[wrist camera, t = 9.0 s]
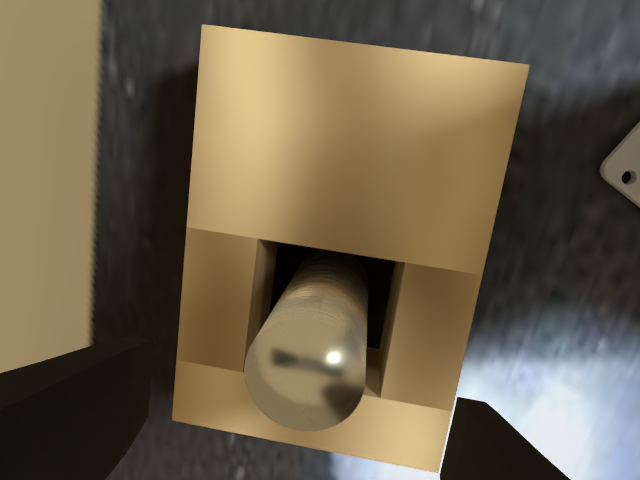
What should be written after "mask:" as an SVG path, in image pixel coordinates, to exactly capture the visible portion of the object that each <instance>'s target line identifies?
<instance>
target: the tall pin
mask: <svg viewBox="0 0 640 480" xmlns="http://www.w3.org/2000/svg"><path fill="white" fill-rule="evenodd" d="M368 292H369V282H368V277H367V274H366V271H365V269H364V267H363V266H362V264H361V263H360V262H359V261H358V260H357V259H356V258H355V257H354V256H352V255H351V254H349V253H344V252H338V251H331V250H325V249H324V250H320V251H317V252H315V253H313V254H311V255H309V256H308V257H307V258H306V259H305V260H304V261H303V262H302V263H301V265H300V266H299V268H298V269H297V271H296V273H295V274H294V276H293V277H292V279H291V281H290V282H289V284H288V286H287V287H286V289H285V291H284V292H283V294H282V295H281V297H280V299H279V300H278V302H277V304H276V305H275V307H274V309H273V310H272V312H271V314H270V315H269V317H268V318H267V320H266V322H265V323H264V325H263V327H262V328H261V330H260V332H259V333H258V335H257V336H256V338H255V340H254V341H253V343H252V345H251V346H250V348H249V351H248V353H247V356H246V359H245V365H244V377H245V383H246V387H247V390H248V392H249V395H250V397H251V399H252V400H253V402H254V403H255V405H256V406H257V407H258V409H259V410H260V411H261V412H262V413H263V414H264V415H266V416H267V417H268V418H269V419H271V420H272V421H274V422H275V423H277V424H279V425H281V426H284V427H286V428H289V429H293V430H297V431H320V430H324V429H328V428H331V427H333V426H335V425H337V424H339V423H341V422H342V421H344V420H345V419H346V418H348V417H349V416H350V415H351V414H352V413H353V412H354V410H355V409H356V408H357V406H358V404H359V403H360V401H361V398H362V396H363V393H364V388H365V376H366V348H367V320H368Z"/></svg>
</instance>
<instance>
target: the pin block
mask: <svg viewBox="0 0 640 480" xmlns="http://www.w3.org/2000/svg"><path fill="white" fill-rule="evenodd" d="M528 70H529V65H527V64H519V63H510V62H502V61H494V60H486V59H478V58H470V57H462V56H454V55H446V54H438V53H430V52H422V51H413V50H405V49H397V48H389V47H381V46H373V45H365V44H357V43H349V42H341V41H333V40H325V39H316V38H308V37H300V36H292V35H284V34H276V33H268V32H260V31H252V30H244V29H236V28H228V27H219V26H211V25H203V24H202V32H201V45H200V58H199V71H198V84H197V98H196V111H195V124H194V137H193V150H192V163H191V176H190V189H189V203H188V216H187V229H186V242H185V255H184V268H183V281H182V294H181V308H180V321H179V334H178V347H177V360H176V373H175V386H174V399H173V413H172V420H173V421H178V422H183V423H188V424H193V425H198V426H204V427H209V428H214V429H219V430H224V431H229V432H234V433H239V434H244V435H249V436H254V437H259V438H264V439H269V440H274V441H279V442H284V443H289V444H294V445H299V446H304V447H309V448H314V449H319V450H324V451H330V452H335V453H340V454H345V455H350V456H355V457H360V458H365V459H370V460H375V461H380V462H385V463H390V464H395V465H400V466H405V467H410V468H415V469H420V470H425V471H430V472H435V473H438V471H439V466H440V462H441V458H442V453H443V449H444V444H445V440H446V435H447V431H448V426H449V422H450V417H451V413H452V409H453V404H454V400H455V395H456V391H457V386H458V382H459V377H460V373H461V368H462V364H463V360H464V355H465V351H466V346H467V342H468V337H469V333H470V328H471V324H472V319H473V315H474V310H475V306H476V302H477V297H478V293H479V288H480V284H481V279H482V275H483V270H484V266H485V261H486V257H487V253H488V248H489V244H490V239H491V235H492V230H493V226H494V221H495V217H496V212H497V208H498V204H499V199H500V195H501V190H502V186H503V181H504V177H505V172H506V168H507V163H508V159H509V155H510V150H511V146H512V141H513V137H514V132H515V128H516V123H517V119H518V114H519V110H520V106H521V101H522V97H523V92H524V88H525V83H526V79H527V74H528ZM278 242H282V243H288V244H294V245H300V246H307V247H313V248H319V249H325V250H331V251H338V252H344V253H350V254H356V255H362V256H368V257H375V258H381V259H387V260H393V261H395V263H394V269H393V275H392V280H391V286H390V291H389V297H388V302H387V308H386V313H385V319H384V325H383V330H382V336H381V341H380V347H379V349H376V348H370V347H367V348H366V376H365V388H364V393H363V396H362V398H361V401H360V403H359V404H358V406H357V408H356V409H355V410H354V412H353V413H352V414H351V415H350V416H349V417H348V418H346V419H345V420H344V421H342V422H341V423H339V424H337V425H335V426H333V427H331V428H328V429H324V430H320V431H297V430H293V429H289V428H286V427H284V426H281V425H279V424H277V423H275V422H274V421H272V420H271V419H269V418H268V417H267V416H266V415H264V414H263V413H262V412H261V411H260V410H259V409H258V407H257V406H256V405H255V403H254V402H253V400H252V399H251V397H250V395H249V392H248V390H247V387H246V383H245V377H244V365H245V359H246V356H247V353H248V351H249V348H250V346H251V345H252V343H253V341H254V340H255V338H256V336H257V335H258V333H259V332H260V330H261V328H262V327H263V325H264V323H265V322H266V320H267V318H268V317H269V314H270V305H271V297H272V289H273V281H274V272H275V264H276V256H277V248H278Z"/></svg>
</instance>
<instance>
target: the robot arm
mask: <svg viewBox="0 0 640 480" xmlns="http://www.w3.org/2000/svg"><path fill="white" fill-rule="evenodd" d="M626 171H629V172H630V174H631V179H630V180H629V182H627V183H626V184H624V183H623V182H622V175H623V173H625V172H626ZM600 174H601V176H602V178H603V179H604V180H605V181H607V182H608V183H609V184H610V185H612V186H613V187H614V188H615V189H617V190H618V191H619V192H620V193H622V194H623V195H624V196H626V197H627V198H628V199H629V200H631V201H632V202H633V203H634V204H636V205H637V206H638V207H639V208H640V122H639V123H638V124H637V125H636V126H635V127H634V128H633V129H632V130H631V131H630V133H629V134H628V135H627V136H626V137H625V138H624V139H623V140H622V141H621V142H620V143H619V145H618V146H617V147H616V148H615V149H614V150H613V151H612V152H611V153H610V154H609V156H608V157H607V158H606V159H605V160H604V161H603V163H602V164H601V167H600ZM152 344H153V340H148V339H142V338H137V337H131V336H126V337H121V338H116V339H113V340H109V341H105V342H102V343H99V344H95V345H92V346H89V347H86V348H83V349H80V350H77V351H73V352H70V353H67V354H64V355H61V356H58V357H55V358H51V359H48V360H45V361H42V362H38V363H35V364H31V365H28V366H25V367H21V368H18V369H14V370H10V371H7V372H4V373H0V480H105V479H106V478H107V476H108V475H109V474H110V473H111V471H112V470H113V469H114V468H115V466H116V465H117V464H118V463H119V461H120V460H121V459H122V457H123V456H124V455H125V454H126V452H127V450H128V449H129V447H130V446H131V444H132V443H133V441H134V439H135V438H136V436H137V434H138V433H139V431H140V429H141V428H142V426H143V424H144V423H145V421H146V419H147V417H148V408H149V392H150V376H151V360H152ZM440 480H570V479H569V478H568V477H567V476H566V475H564V474H563V473H562V472H561V471H560V470H559V469H558V468H557V467H555V466H554V465H553V464H552V463H551V462H550V461H549V460H548V459H547V458H545V457H544V456H543V455H542V454H541V453H540V452H539V451H538V450H537V449H536V448H535V447H533V446H532V445H531V444H530V443H529V442H528V441H527V440H526V439H525V438H524V437H523V436H522V435H521V434H520V433H519V432H518V431H517V430H516V429H515V428H513V427H512V426H511V425H510V424H509V423H508V422H507V421H506V420H505V419H504V418H503V417H502V416H501V415H500V414H499V413H498V412H496V411H495V410H494V409H493V408H492V407H491V406H489V405H488V404H487V403H486V402H482V401H476V400H471V399H465V398H460V397H457V402H456V406H455V411H454V415H453V420H452V424H451V428H450V433H449V437H448V442H447V446H446V450H445V455H444V459H443V464H442V468H441V473H440Z"/></svg>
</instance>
